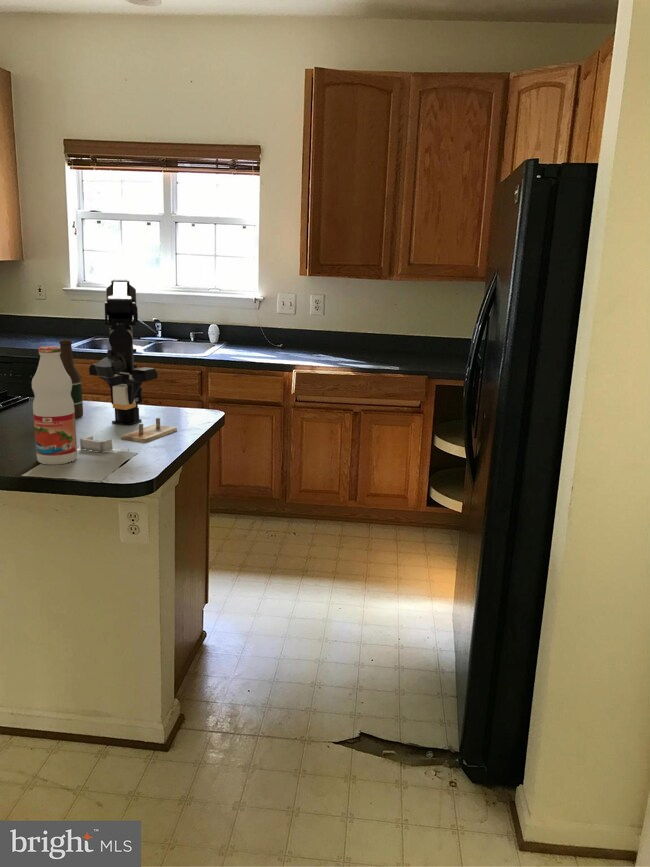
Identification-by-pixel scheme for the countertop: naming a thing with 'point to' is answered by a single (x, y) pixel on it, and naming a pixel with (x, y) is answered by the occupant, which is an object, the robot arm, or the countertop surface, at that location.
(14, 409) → the countertop surface
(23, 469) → the countertop surface
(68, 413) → the fruit juice
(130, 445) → the countertop surface
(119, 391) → the sleeve
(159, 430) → the pin board
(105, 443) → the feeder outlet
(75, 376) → the beer bottle
